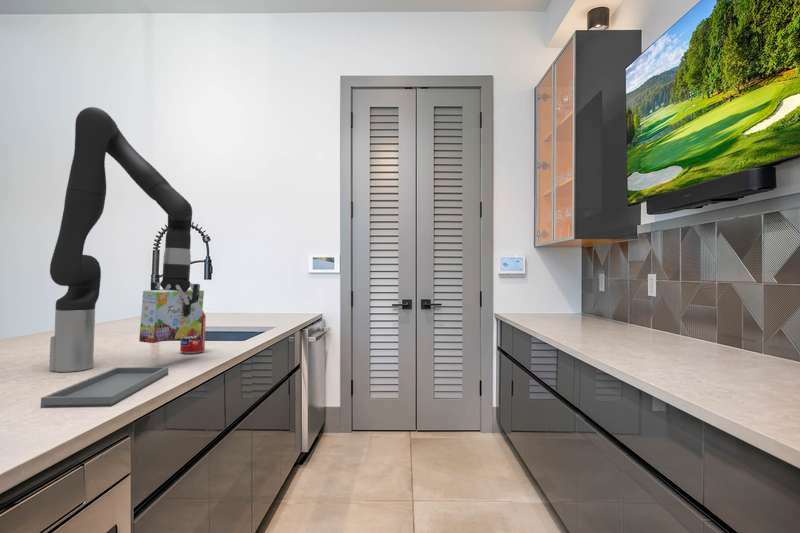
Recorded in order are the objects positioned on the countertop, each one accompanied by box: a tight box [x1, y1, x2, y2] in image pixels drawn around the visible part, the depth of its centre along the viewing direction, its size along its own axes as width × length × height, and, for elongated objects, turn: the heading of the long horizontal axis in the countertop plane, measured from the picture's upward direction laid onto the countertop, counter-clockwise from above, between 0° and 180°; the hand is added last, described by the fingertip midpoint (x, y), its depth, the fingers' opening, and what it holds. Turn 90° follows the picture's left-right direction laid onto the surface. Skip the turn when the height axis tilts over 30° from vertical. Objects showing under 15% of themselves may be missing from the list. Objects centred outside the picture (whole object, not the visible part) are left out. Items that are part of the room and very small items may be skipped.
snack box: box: [138, 289, 205, 344], centre depth 134 cm, size 21×6×15 cm, turn 170°
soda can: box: [179, 310, 207, 355], centre depth 153 cm, size 8×8×15 cm
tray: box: [40, 366, 169, 408], centre depth 105 cm, size 14×30×2 cm, turn 7°
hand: (174, 316), depth 134 cm, fingers closed on snack box, 6 cm apart
